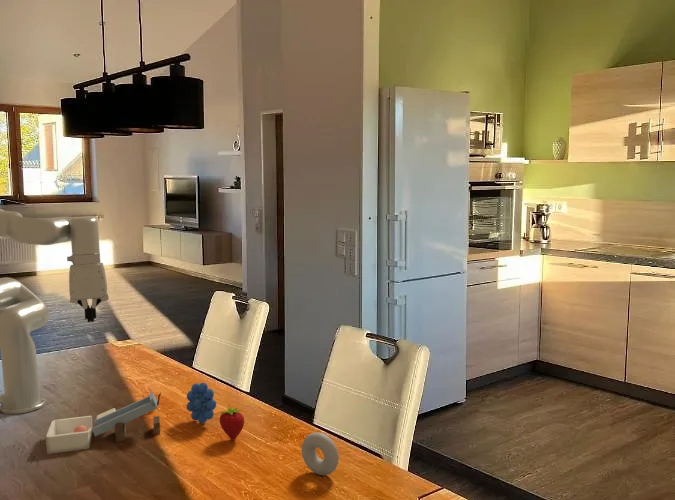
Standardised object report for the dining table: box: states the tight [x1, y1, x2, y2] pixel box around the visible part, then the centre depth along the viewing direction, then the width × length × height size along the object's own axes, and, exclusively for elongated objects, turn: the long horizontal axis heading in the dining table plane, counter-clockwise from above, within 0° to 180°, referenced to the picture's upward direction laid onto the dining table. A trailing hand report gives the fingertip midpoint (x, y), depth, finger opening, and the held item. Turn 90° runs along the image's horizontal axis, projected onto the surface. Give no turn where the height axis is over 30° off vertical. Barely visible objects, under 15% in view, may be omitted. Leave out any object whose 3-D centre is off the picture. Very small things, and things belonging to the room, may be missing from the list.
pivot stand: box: [114, 423, 127, 443], centre depth 175 cm, size 2×7×5 cm, turn 16°
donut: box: [301, 431, 340, 476], centre depth 150 cm, size 10×4×10 cm, turn 54°
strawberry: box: [218, 404, 245, 441], centre depth 170 cm, size 6×8×10 cm
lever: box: [92, 391, 158, 437], centre depth 178 cm, size 17×13×4 cm
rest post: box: [152, 415, 161, 436], centre depth 178 cm, size 2×5×3 cm, turn 16°
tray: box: [45, 415, 94, 455], centre depth 172 cm, size 10×12×4 cm
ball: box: [73, 425, 87, 433], centre depth 173 cm, size 4×4×4 cm
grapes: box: [186, 382, 217, 425], centre depth 183 cm, size 12×7×12 cm, turn 52°
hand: (91, 321), depth 192 cm, fingers closed
